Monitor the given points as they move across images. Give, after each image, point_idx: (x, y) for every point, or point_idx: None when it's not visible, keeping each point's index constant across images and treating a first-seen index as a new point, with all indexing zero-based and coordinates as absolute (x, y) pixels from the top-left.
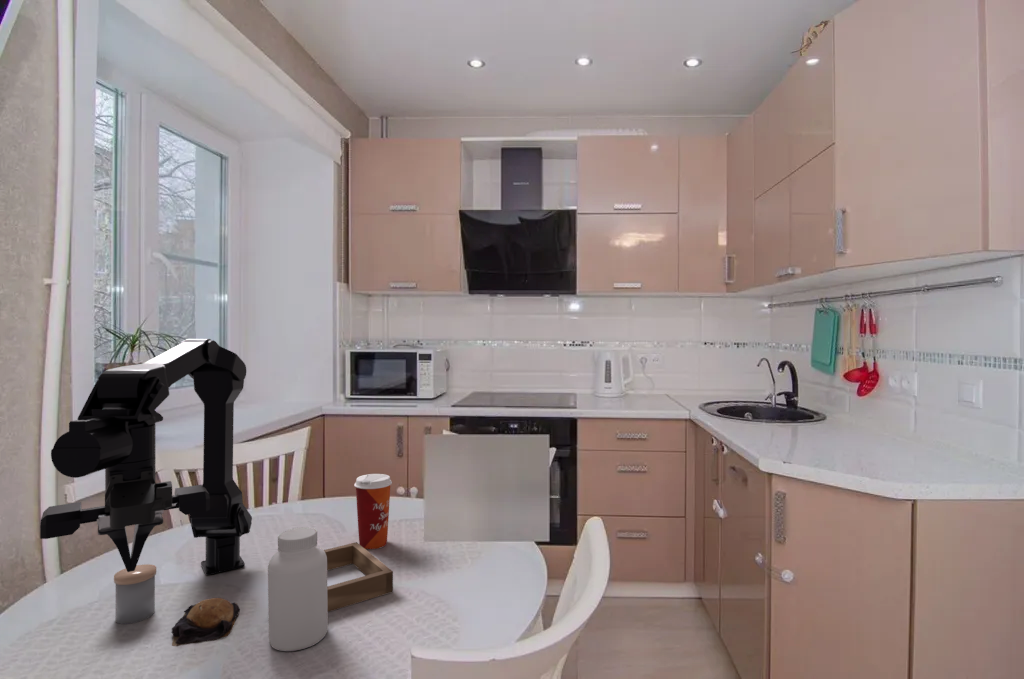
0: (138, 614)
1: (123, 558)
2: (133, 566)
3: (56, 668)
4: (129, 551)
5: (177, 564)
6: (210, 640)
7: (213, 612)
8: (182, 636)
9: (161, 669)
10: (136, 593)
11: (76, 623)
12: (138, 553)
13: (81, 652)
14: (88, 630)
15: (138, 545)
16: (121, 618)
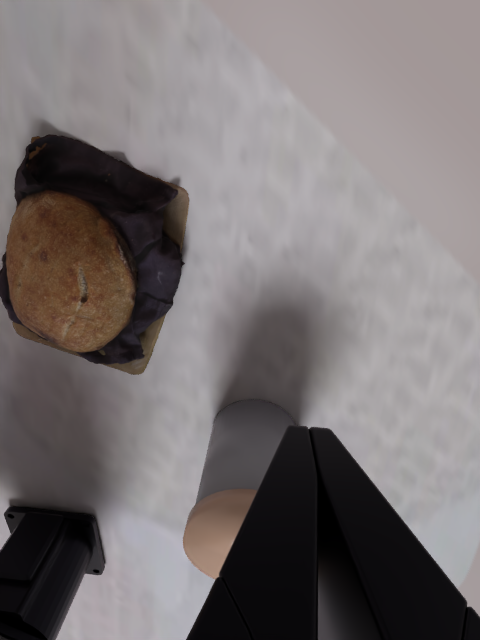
0: (251, 412)
1: (392, 518)
2: (298, 443)
3: (463, 283)
4: (322, 602)
5: (152, 592)
6: (82, 143)
7: (45, 232)
8: (155, 201)
9: (231, 40)
10: (252, 461)
11: (370, 477)
12: (265, 523)
13: (394, 329)
14: (356, 429)
15: (265, 623)
16: (288, 423)
